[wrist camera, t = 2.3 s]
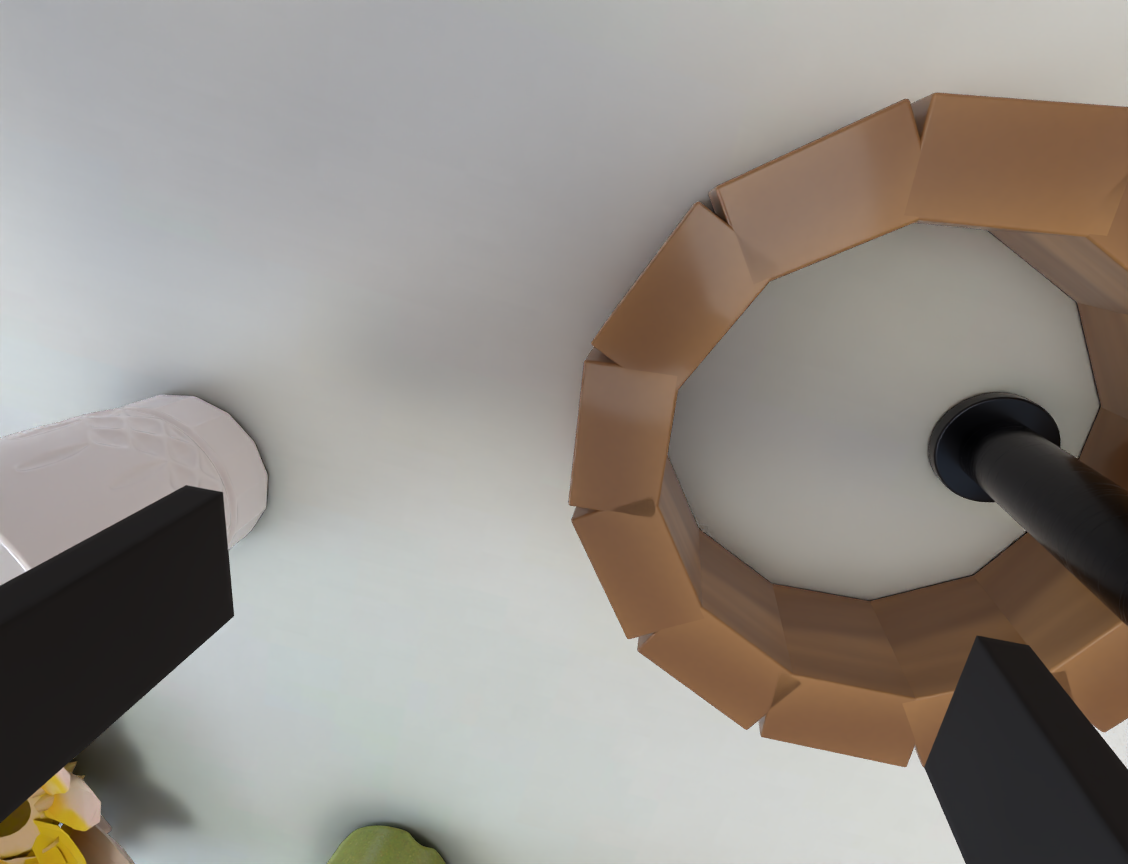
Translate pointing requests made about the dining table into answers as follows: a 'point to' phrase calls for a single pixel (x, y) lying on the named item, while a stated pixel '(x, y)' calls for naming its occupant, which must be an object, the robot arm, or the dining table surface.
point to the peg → (1038, 487)
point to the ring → (715, 302)
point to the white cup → (120, 474)
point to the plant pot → (383, 848)
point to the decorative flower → (44, 850)
